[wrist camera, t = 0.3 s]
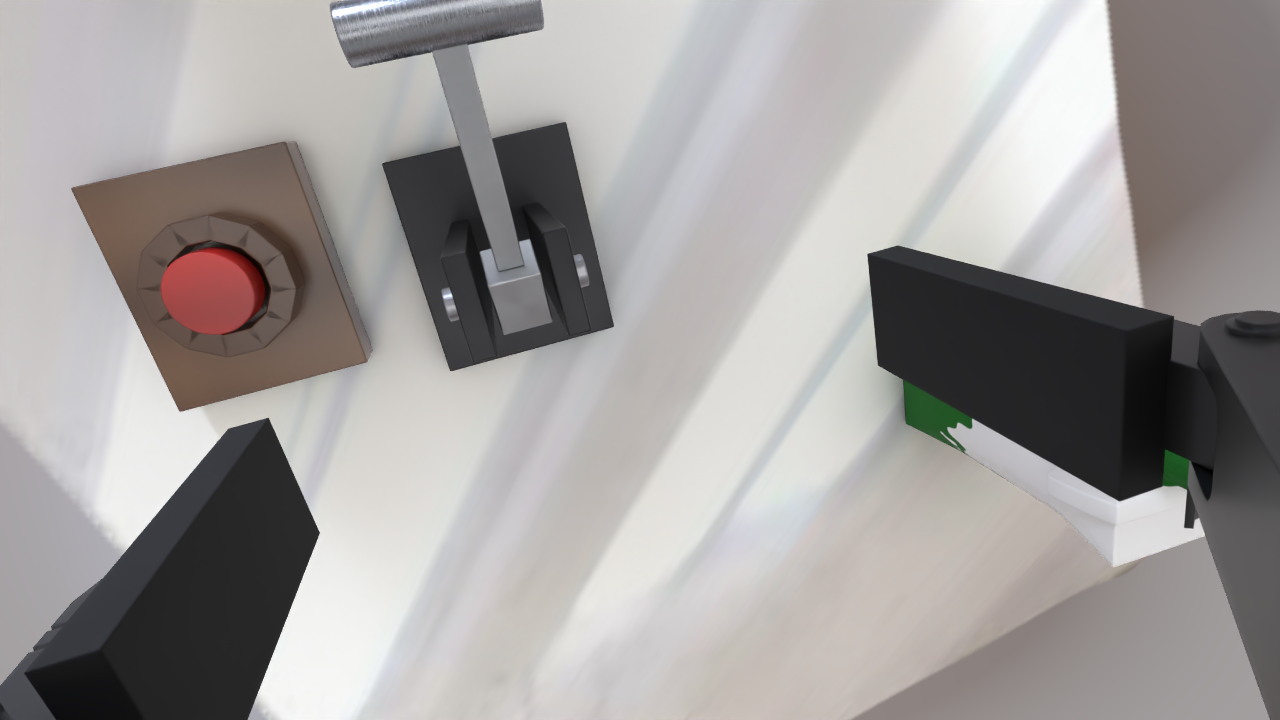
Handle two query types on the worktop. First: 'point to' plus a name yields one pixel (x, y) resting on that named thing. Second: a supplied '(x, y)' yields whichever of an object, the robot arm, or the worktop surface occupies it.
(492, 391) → the worktop surface
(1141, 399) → the robot arm
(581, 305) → the black lever stand
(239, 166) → the button box
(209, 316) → the button
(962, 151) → the worktop surface
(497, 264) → the tap lever
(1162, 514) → the milk carton
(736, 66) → the worktop surface
